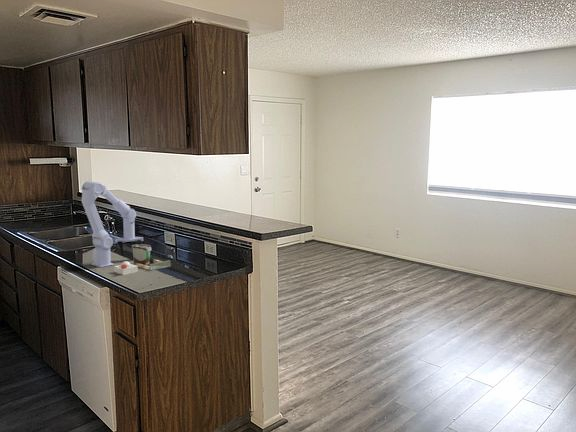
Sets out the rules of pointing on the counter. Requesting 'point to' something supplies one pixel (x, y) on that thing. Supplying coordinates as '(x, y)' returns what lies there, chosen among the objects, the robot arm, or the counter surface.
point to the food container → (141, 254)
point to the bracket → (155, 265)
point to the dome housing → (125, 269)
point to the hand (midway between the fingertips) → (129, 254)
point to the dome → (127, 264)
